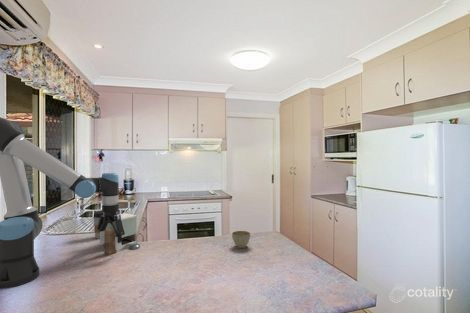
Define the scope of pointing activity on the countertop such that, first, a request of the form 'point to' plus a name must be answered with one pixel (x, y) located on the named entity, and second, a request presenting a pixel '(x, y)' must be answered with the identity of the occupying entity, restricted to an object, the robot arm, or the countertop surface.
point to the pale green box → (127, 226)
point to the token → (134, 246)
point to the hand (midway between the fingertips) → (110, 246)
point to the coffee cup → (96, 221)
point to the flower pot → (241, 238)
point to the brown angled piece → (113, 242)
